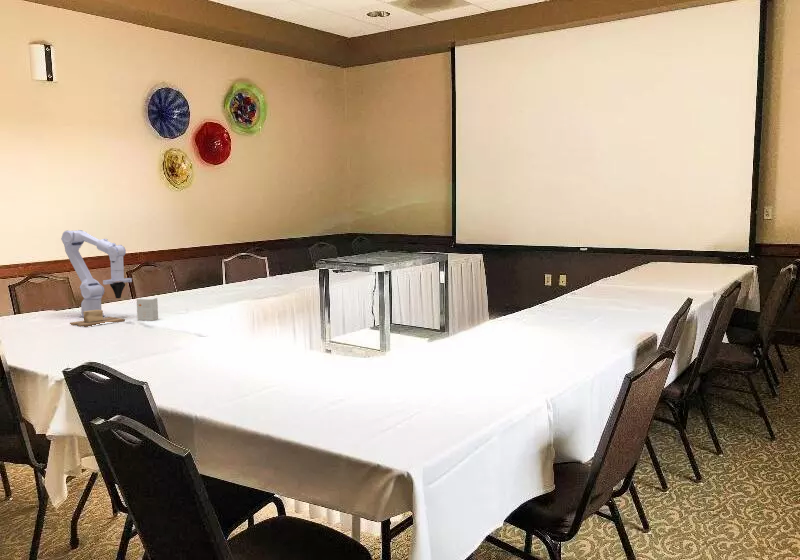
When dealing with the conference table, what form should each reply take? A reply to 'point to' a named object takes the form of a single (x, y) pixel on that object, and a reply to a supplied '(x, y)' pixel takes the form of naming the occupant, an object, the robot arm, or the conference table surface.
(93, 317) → the block
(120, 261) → the robot arm
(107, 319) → the board
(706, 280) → the conference table surface
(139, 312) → the small box
